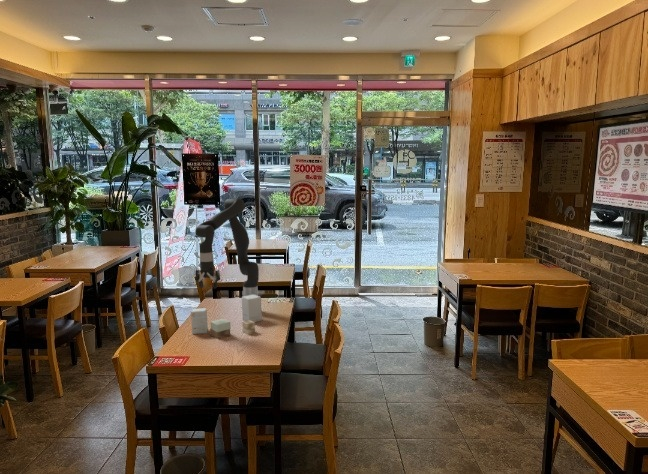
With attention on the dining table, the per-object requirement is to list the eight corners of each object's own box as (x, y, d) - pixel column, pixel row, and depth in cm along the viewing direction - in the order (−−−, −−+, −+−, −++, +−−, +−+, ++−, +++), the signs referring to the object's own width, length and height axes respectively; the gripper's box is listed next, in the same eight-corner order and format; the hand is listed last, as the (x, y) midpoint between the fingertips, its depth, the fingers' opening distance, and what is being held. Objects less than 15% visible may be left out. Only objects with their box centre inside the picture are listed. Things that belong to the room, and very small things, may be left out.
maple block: (250, 330, 259) (250, 320, 258) (255, 332, 255) (254, 322, 254) (242, 332, 256) (242, 322, 255) (247, 334, 252) (246, 324, 251)
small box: (207, 329, 262) (206, 307, 260) (206, 333, 256) (205, 310, 254) (193, 330, 260) (192, 308, 259) (192, 334, 254) (190, 311, 253)
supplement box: (262, 320, 277) (261, 296, 275) (249, 323, 271) (248, 299, 269) (255, 317, 284) (254, 294, 282) (242, 320, 278) (241, 296, 277)
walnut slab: (223, 332, 258) (223, 325, 257) (230, 335, 252) (230, 328, 251) (210, 335, 253) (210, 328, 252) (217, 339, 247) (216, 332, 246)
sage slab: (223, 325, 257) (223, 318, 257) (230, 328, 251) (230, 321, 250) (210, 328, 252) (210, 321, 252) (217, 332, 246) (217, 324, 245)
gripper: (221, 259, 259) (222, 286, 261) (198, 258, 263) (200, 286, 265) (214, 261, 252) (216, 290, 254) (191, 261, 256) (193, 289, 258)
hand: (208, 288), depth 259 cm, fingers open, 8 cm apart
